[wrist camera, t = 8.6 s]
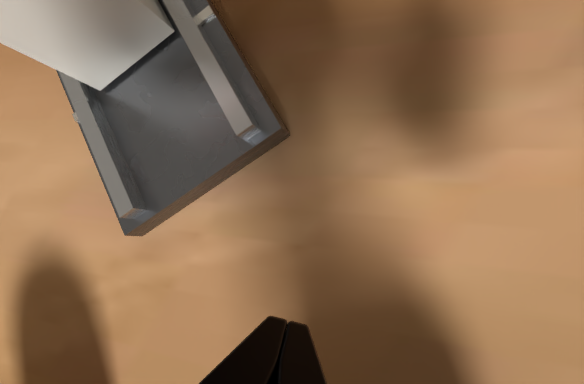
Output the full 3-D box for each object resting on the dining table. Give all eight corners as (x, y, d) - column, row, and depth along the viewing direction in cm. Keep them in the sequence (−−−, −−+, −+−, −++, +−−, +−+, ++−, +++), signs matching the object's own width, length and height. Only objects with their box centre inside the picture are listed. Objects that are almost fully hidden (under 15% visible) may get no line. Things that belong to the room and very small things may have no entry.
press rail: (290, 135, 22) (258, 109, 18) (142, 236, 24) (82, 234, 20) (165, -78, 27) (116, -138, 23) (50, 22, 29) (-13, -15, 25)
